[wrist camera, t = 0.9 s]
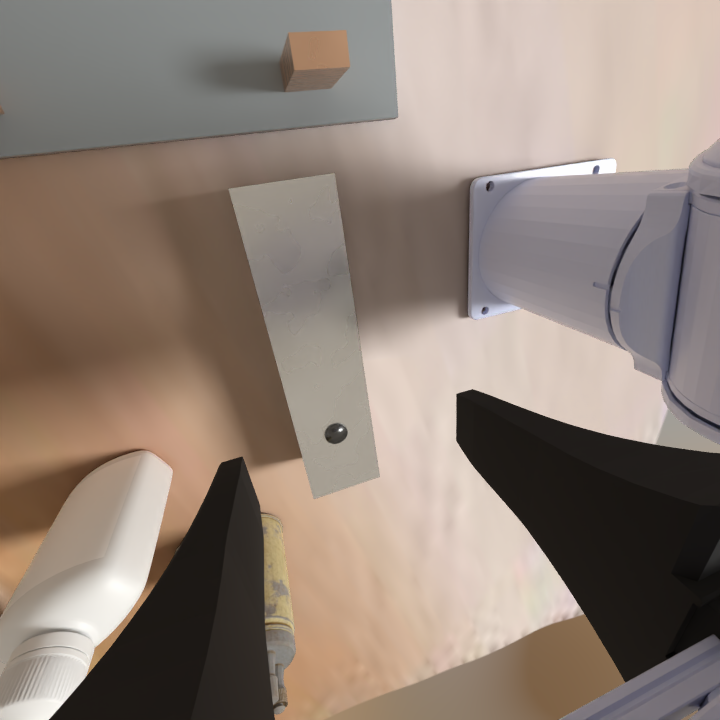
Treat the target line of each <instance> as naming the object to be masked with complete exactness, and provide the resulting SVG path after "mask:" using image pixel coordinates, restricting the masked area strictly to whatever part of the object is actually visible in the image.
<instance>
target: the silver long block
mask: <svg viewBox="0 0 720 720" xmlns="http://www.w3.org/2000/svg"><path fill="white" fill-rule="evenodd" d="M229 193H230V197H231V200H232V204H233V208H234V211H235V215H236V218H237V222H238V226H239V229H240V233H241V237H242V240H243V244H244V247H245V251H246V255H247V258H248V262H249V266H250V269H251V273H252V276H253V280H254V284H255V287H256V291H257V295H258V298H259V302H260V306H261V309H262V313H263V316H264V320H265V324H266V327H267V331H268V335H269V338H270V342H271V345H272V349H273V353H274V356H275V360H276V364H277V367H278V371H279V374H280V378H281V382H282V385H283V389H284V393H285V396H286V400H287V403H288V407H289V411H290V414H291V418H292V422H293V425H294V429H295V432H296V436H297V440H298V443H299V447H300V451H301V454H302V458H303V461H304V465H305V469H306V472H307V476H308V480H309V483H310V487H311V490H312V494H313V498H314V499H316V498H319V497H322V496H325V495H328V494H331V493H333V492H336V491H339V490H342V489H345V488H348V487H351V486H354V485H357V484H360V483H363V482H366V481H369V480H372V479H375V478H378V477H380V474H379V468H378V461H377V454H376V447H375V441H374V434H373V427H372V420H371V414H370V407H369V400H368V393H367V387H366V380H365V373H364V367H363V360H362V353H361V346H360V340H359V333H358V326H357V319H356V313H355V306H354V299H353V292H352V286H351V279H350V272H349V265H348V259H347V252H346V245H345V239H344V232H343V225H342V218H341V212H340V205H339V198H338V191H337V185H336V178H335V173H331V174H324V175H317V176H310V177H304V178H297V179H290V180H283V181H277V182H270V183H263V184H257V185H250V186H243V187H236V188H230V189H229Z"/></svg>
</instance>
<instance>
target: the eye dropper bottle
mask: <svg viewBox="0 0 720 720" xmlns="http://www.w3.org/2000/svg"><path fill="white" fill-rule="evenodd" d="M172 474H173V470H172V469H171V467H170V466H169V465H168V464H167V463H165V462H164V461H163V460H161V459H160V458H159V457H158V456H156V455H155V454H154V453H152V452H150V451H147V450H141V451H136V452H132V453H129V454H126V455H123V456H120V457H117V458H115V459H113V460H111V461H108V462H106V463H105V464H103V465H101V466H99V467H98V468H96V469H95V470H93V471H92V472H91V473H89V474H88V475H87V476H86V477H85V478H84V479H83V480H82V481H81V482H80V483H79V484H78V485H77V486H76V487H75V488H74V489H73V491H72V492H71V493H70V495H69V496H68V498H67V499H66V501H65V503H64V505H63V506H62V508H61V510H60V512H59V513H58V515H57V517H56V519H55V521H54V522H53V524H52V526H51V528H50V529H49V531H48V533H47V535H46V537H45V538H44V540H43V542H42V544H41V545H40V547H39V549H38V551H37V553H36V554H35V556H34V558H33V560H32V562H31V563H30V565H29V567H28V569H27V570H26V572H25V574H24V576H23V578H22V579H21V581H20V583H19V585H18V587H17V588H16V590H15V592H14V594H13V596H12V597H11V599H10V601H9V603H8V605H7V607H6V608H5V610H4V612H3V614H2V616H1V618H0V662H2V663H4V664H6V667H5V668H4V670H3V672H2V674H1V677H0V720H49V719H50V718H51V717H52V716H53V714H54V713H55V712H56V711H57V710H58V709H59V708H60V707H61V705H62V704H63V703H64V702H65V701H66V700H67V699H68V697H69V696H70V695H71V694H72V693H73V692H74V690H75V689H76V688H77V687H78V686H79V685H80V683H81V682H82V681H83V680H84V679H85V678H86V675H87V672H88V669H89V666H90V662H91V659H92V656H93V653H94V648H95V647H96V646H97V645H99V644H100V643H101V642H102V641H103V640H104V639H105V638H107V637H108V636H109V635H110V634H111V633H112V632H113V631H114V630H115V629H116V627H117V626H118V625H119V624H120V623H121V622H122V621H123V620H124V618H125V617H126V616H127V615H128V613H129V612H130V611H131V609H132V608H133V606H134V605H135V603H136V602H137V600H138V599H139V597H140V595H141V593H142V591H143V589H144V587H145V584H146V582H147V578H148V575H149V571H150V567H151V563H152V560H153V556H154V551H155V547H156V543H157V539H158V535H159V531H160V526H161V522H162V518H163V514H164V510H165V505H166V501H167V497H168V493H169V488H170V484H171V480H172Z"/></svg>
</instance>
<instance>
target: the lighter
mask: <svg viewBox="0 0 720 720" xmlns="http://www.w3.org/2000/svg"><path fill="white" fill-rule="evenodd" d="M261 518H262V526H263V535H264V594H265V631H266V643H267V653H268V663H269V672H270V682H271V691H272V700H273V709H274V714H280V713H282V712H283V711H284V710H285V708H286V707H287V705H288V702H287V691H286V688H285V686H284V681H283V676H284V669H286V668H287V667H288V666H289V664H290V663H291V662H292V660H293V658H294V655H295V652H296V647H295V639H294V629H295V627H294V620H293V612H292V604H291V597H290V589H289V581H288V573H287V566H286V558H285V550H284V543H283V535H282V533H283V526H282V523H281V521H280V520H279V519H278V518H277V517H275V516H273V515H270V514H261ZM178 548H179V547H178ZM178 548H177V550H178ZM177 550H176V552H177ZM176 552H175V553H176Z"/></svg>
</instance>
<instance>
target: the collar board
mask: <svg viewBox="0 0 720 720" xmlns="http://www.w3.org/2000/svg"><path fill="white" fill-rule="evenodd" d="M397 117H398V106H397V90H396V73H395V56H394V40H393V23H392V6H391V0H0V159H4V158H14V157H24V156H34V155H44V154H54V153H64V152H73V151H83V150H93V149H103V148H113V147H123V146H133V145H143V144H153V143H162V142H172V141H182V140H192V139H202V138H212V137H222V136H232V135H242V134H251V133H261V132H271V131H281V130H291V129H301V128H311V127H321V126H331V125H340V124H350V123H360V122H370V121H380V120H390V119H395V118H397Z"/></svg>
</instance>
